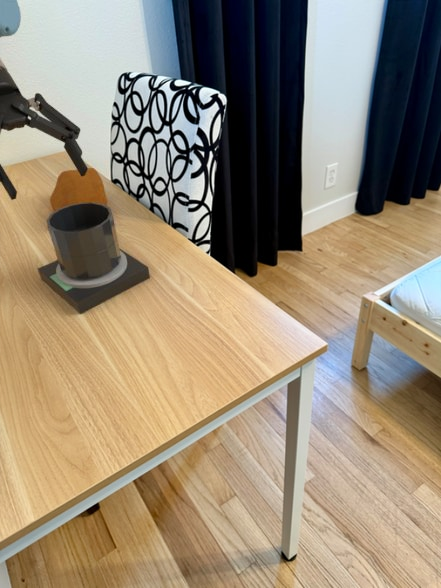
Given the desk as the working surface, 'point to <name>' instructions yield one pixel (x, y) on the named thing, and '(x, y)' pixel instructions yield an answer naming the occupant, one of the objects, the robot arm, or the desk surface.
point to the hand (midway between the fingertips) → (51, 183)
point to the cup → (84, 240)
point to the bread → (78, 189)
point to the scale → (94, 282)
